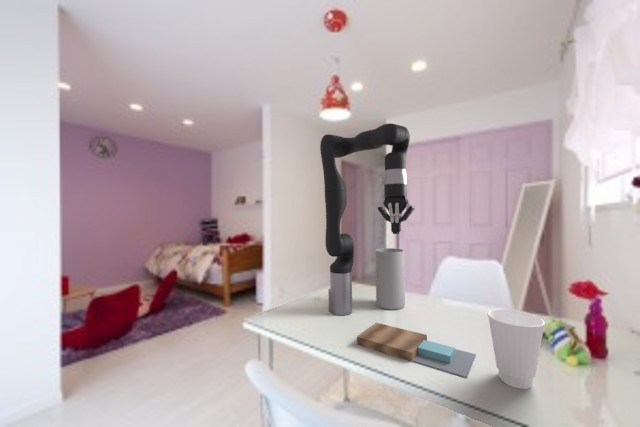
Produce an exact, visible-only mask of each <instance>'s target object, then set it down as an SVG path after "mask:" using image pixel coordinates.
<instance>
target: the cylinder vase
mask: <svg viewBox="0 0 640 427" xmlns="http://www.w3.org/2000/svg"><path fill="white" fill-rule="evenodd" d="M405 279H406V278H405V250H404V249H401V248H395V247H394V248H393V247H391V248H390V247H389V248H387V247H385V248H377V249H375V295H376V296H375V299H376V303H375V304H376V305H377V306H378V307H379V308H380V309H384V310H391V311H393V310H394V311H395V310H396V311H397V310H401V309H403V308H405V305H406V297H405V296H406V291H405V290H406V286H405V284H406V283H405V281H406V280H405Z"/></svg>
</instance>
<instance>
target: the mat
mask: <svg viewBox="0 0 640 427" xmlns="http://www.w3.org/2000/svg"><path fill="white" fill-rule="evenodd" d="M476 356H477V354H476V353H472V352H469V351H465V350H460V349H457V348H455V356H454V357H453V359H452V361H451V363H447V362H444V361H440V360H437V359H433V358H430V357H426V356H423V355H419V354H417V355H416V356H415V358H414V359H413V360H412V361H411V362H412V363H416V364H419V365H422V366H427V367H430V368H433V369H434V370H435V369H436V370H440V371H441V372H442V371H443V372H446V373H449V374H452V375H455V376H458V377H462V378H465V379H468V376H469V373H470V371H471V368H472V365H473V363H474V361H475V358H476Z"/></svg>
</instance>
